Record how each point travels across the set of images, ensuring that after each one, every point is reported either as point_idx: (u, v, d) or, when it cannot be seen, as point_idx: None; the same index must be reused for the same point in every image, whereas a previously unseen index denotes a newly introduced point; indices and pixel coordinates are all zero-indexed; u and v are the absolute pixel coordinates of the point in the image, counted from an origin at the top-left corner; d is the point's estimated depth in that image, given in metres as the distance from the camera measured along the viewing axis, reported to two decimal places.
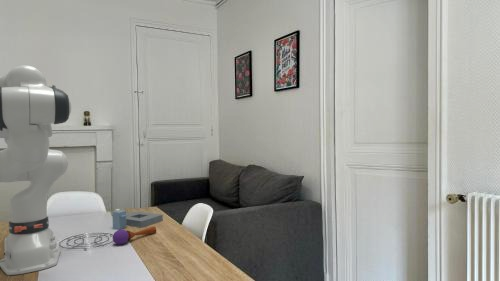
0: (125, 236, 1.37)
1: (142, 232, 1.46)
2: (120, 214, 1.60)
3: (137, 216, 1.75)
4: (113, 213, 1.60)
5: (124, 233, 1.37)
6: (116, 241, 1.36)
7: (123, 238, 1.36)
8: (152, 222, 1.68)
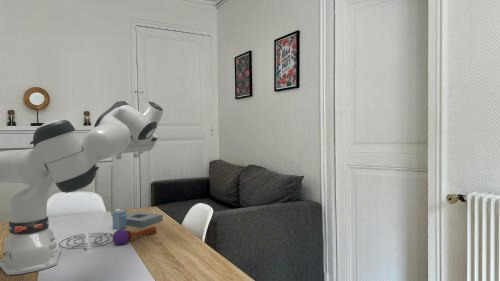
0: (125, 236, 1.37)
1: (142, 232, 1.46)
2: (120, 214, 1.60)
3: (137, 216, 1.75)
4: (113, 213, 1.60)
5: (124, 233, 1.37)
6: (116, 241, 1.36)
7: (123, 237, 1.36)
8: (152, 222, 1.68)
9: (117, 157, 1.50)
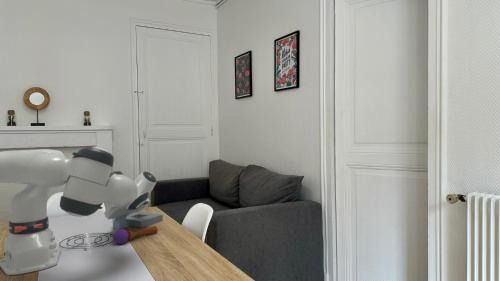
0: (125, 236, 1.37)
1: (143, 232, 1.47)
2: None
3: (137, 216, 1.75)
4: None
5: (124, 233, 1.38)
6: (116, 240, 1.36)
7: (123, 237, 1.37)
8: (152, 222, 1.68)
9: (113, 219, 1.58)
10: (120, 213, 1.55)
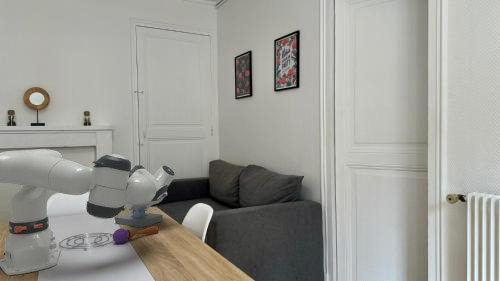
0: (124, 235, 1.38)
1: (143, 231, 1.47)
2: (140, 209, 1.70)
3: None
4: None
5: (123, 232, 1.38)
6: (115, 240, 1.37)
7: (122, 237, 1.37)
8: (152, 222, 1.68)
9: (131, 211, 1.68)
10: (140, 205, 1.65)
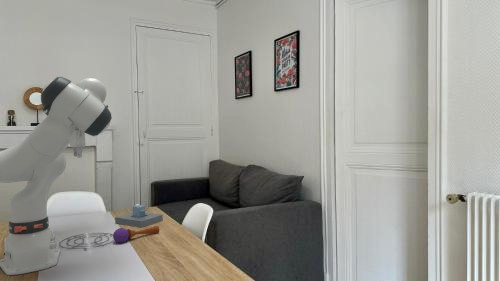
0: (124, 235, 1.39)
1: (144, 231, 1.47)
2: (140, 209, 1.70)
3: None
4: (133, 208, 1.71)
5: (123, 232, 1.39)
6: (115, 239, 1.38)
7: (122, 236, 1.38)
8: (152, 222, 1.68)
9: (80, 155, 1.51)
10: None
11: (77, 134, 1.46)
